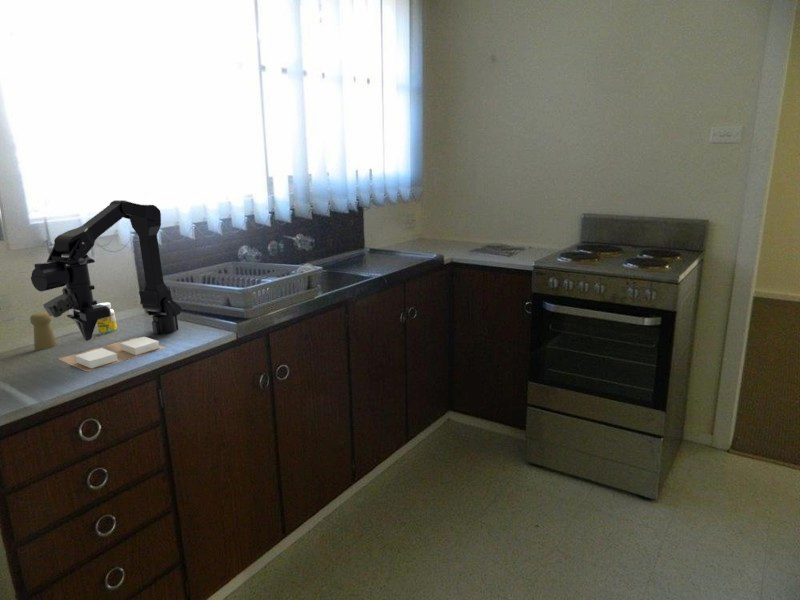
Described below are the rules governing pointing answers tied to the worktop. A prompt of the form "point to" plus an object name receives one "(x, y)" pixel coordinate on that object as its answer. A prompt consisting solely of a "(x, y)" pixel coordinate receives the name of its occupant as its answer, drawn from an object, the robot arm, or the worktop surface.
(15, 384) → the worktop surface
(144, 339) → the tile
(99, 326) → the supplement bottle
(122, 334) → the worktop surface
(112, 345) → the board
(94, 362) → the tile
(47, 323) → the cork
